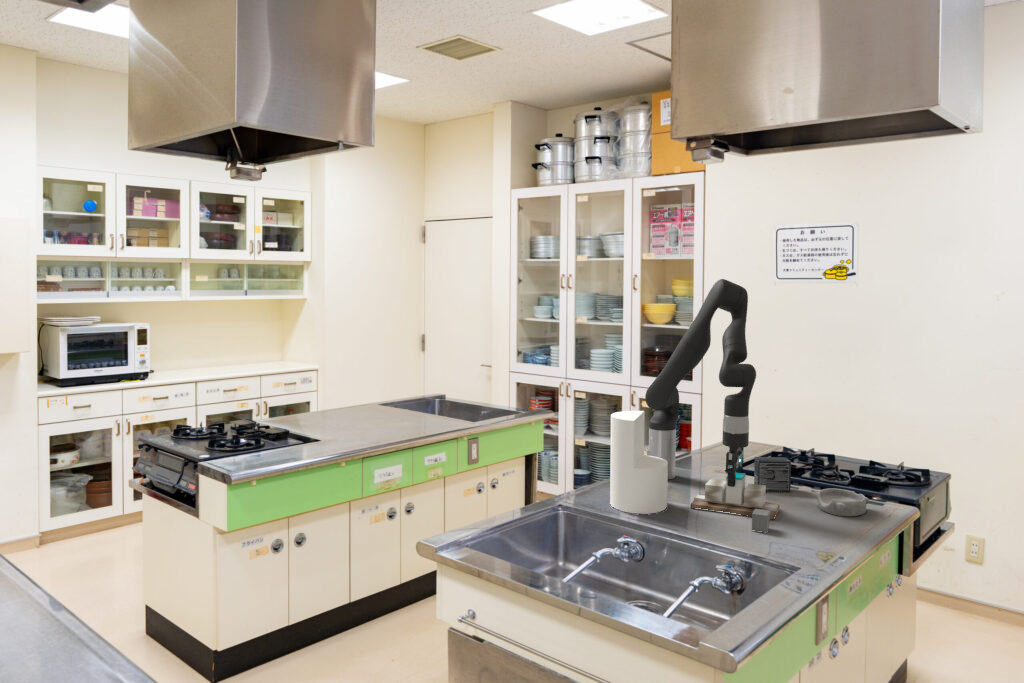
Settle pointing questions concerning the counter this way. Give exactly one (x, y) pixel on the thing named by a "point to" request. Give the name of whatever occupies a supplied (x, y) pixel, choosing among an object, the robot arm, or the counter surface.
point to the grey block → (760, 520)
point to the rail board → (717, 502)
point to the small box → (773, 473)
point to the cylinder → (635, 467)
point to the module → (736, 490)
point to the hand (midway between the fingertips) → (734, 482)
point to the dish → (842, 502)
